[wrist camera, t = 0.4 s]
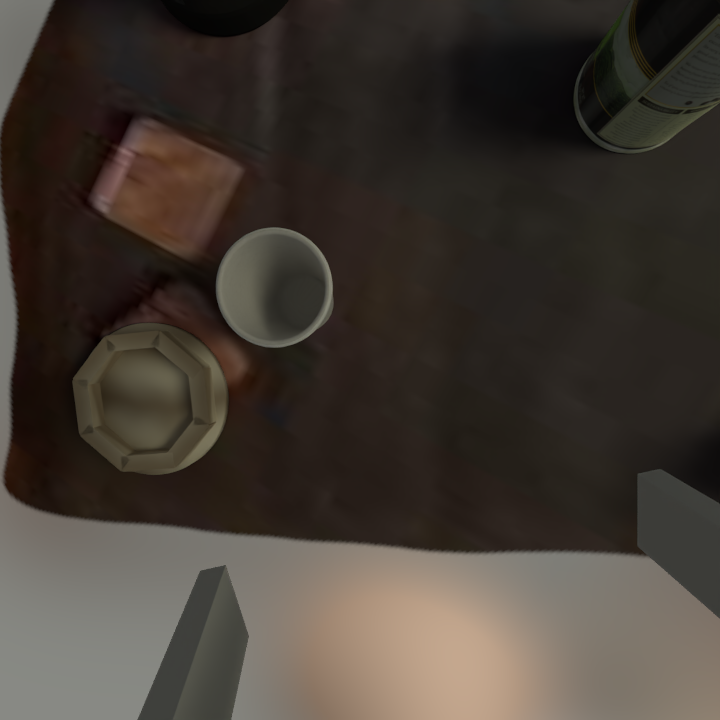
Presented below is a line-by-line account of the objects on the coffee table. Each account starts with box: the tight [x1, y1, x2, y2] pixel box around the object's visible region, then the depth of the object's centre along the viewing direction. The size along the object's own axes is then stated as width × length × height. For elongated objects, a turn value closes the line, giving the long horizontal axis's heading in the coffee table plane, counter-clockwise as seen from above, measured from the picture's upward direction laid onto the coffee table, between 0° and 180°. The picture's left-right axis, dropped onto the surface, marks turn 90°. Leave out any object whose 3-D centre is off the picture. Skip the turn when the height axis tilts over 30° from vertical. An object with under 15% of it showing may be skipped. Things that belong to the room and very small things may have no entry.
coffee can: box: [573, 0, 720, 154], centre depth 26 cm, size 10×10×14 cm
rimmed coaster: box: [72, 323, 229, 475], centre depth 36 cm, size 15×15×2 cm
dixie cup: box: [216, 228, 333, 347], centre depth 31 cm, size 8×8×10 cm
